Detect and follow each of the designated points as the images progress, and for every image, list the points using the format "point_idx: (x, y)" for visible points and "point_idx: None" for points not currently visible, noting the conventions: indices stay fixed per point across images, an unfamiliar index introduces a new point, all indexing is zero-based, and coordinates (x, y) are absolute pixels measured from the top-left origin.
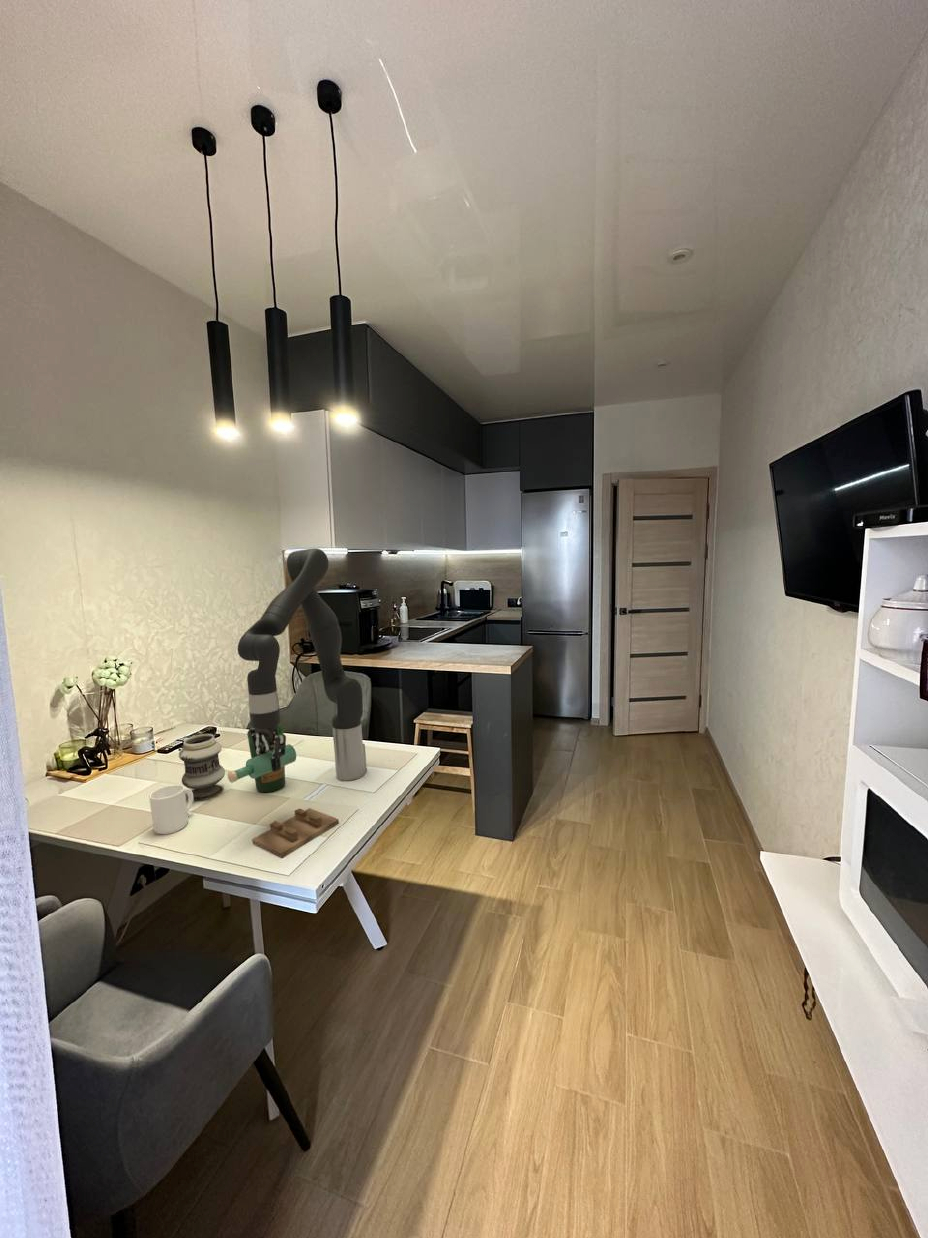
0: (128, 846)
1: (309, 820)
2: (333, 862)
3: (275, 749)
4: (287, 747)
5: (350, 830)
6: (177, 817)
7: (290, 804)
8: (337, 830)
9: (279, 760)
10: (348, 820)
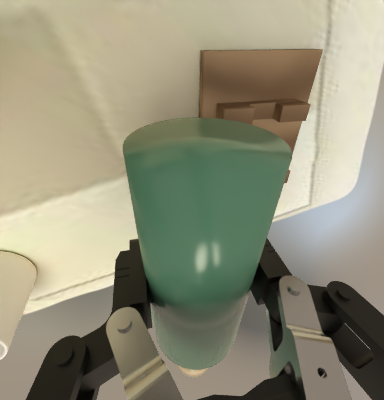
0: (35, 308)
1: (275, 119)
2: (360, 153)
3: (354, 368)
4: (258, 220)
5: (355, 57)
6: (25, 288)
7: (99, 50)
8: (325, 76)
9: (283, 267)
10: (333, 18)
